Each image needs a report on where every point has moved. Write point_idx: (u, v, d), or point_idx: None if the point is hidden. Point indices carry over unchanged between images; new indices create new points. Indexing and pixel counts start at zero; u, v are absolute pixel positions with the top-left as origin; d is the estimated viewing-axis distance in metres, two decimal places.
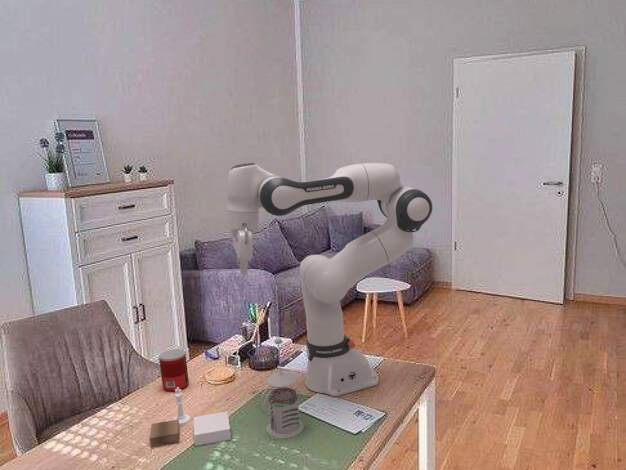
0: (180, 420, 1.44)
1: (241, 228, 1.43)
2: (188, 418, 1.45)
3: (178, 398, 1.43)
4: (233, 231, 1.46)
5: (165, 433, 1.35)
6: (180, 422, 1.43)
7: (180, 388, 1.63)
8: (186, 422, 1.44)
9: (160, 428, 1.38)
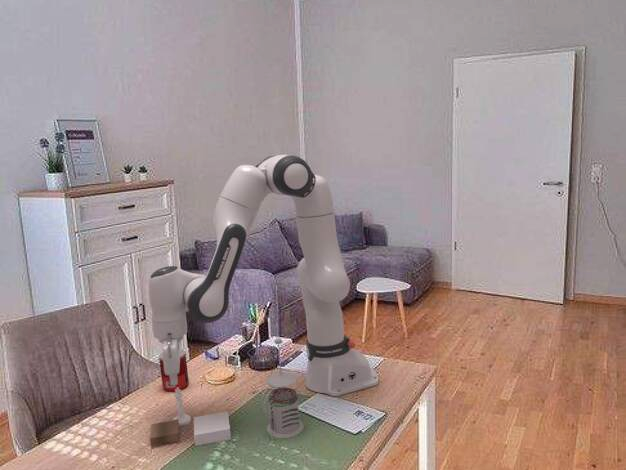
0: (180, 420, 1.44)
1: (166, 338, 1.36)
2: (188, 418, 1.45)
3: (178, 398, 1.43)
4: (160, 340, 1.38)
5: (166, 433, 1.35)
6: (180, 422, 1.43)
7: (180, 388, 1.63)
8: (186, 422, 1.44)
9: (160, 428, 1.37)
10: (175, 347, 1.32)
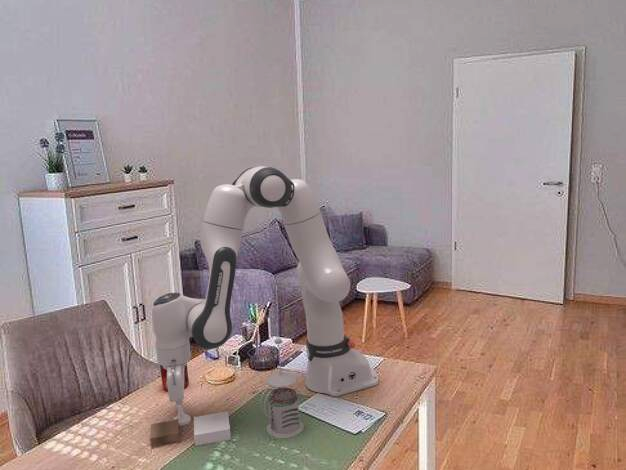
0: (180, 420, 1.44)
1: (170, 365, 1.37)
2: (188, 418, 1.45)
3: None
4: (164, 366, 1.40)
5: (166, 433, 1.35)
6: (180, 422, 1.43)
7: None
8: (186, 422, 1.44)
9: (160, 428, 1.37)
10: (179, 374, 1.34)
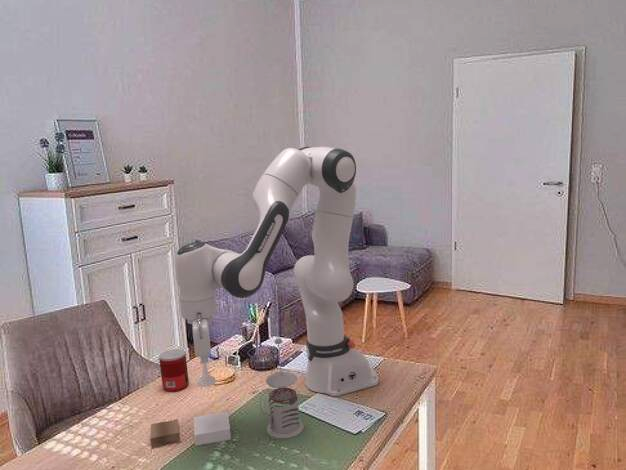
0: (205, 380, 1.34)
1: (196, 318, 1.28)
2: (213, 379, 1.35)
3: None
4: (188, 320, 1.30)
5: (166, 433, 1.35)
6: (205, 383, 1.34)
7: (180, 388, 1.63)
8: (211, 383, 1.34)
9: (160, 428, 1.37)
10: (206, 327, 1.24)
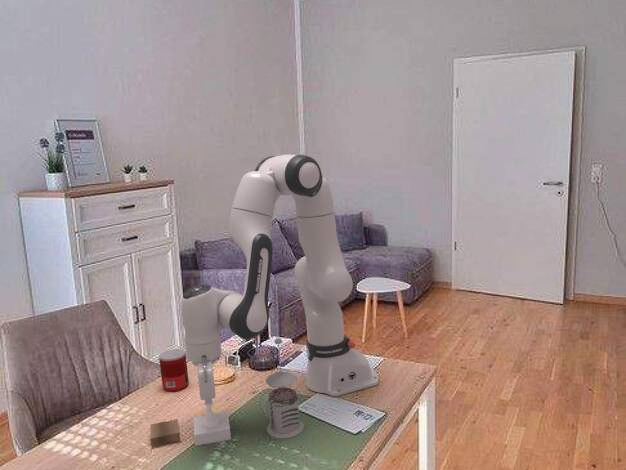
0: (209, 421, 1.36)
1: (201, 361, 1.30)
2: (217, 419, 1.37)
3: None
4: (193, 362, 1.32)
5: (166, 433, 1.35)
6: (210, 424, 1.36)
7: (180, 388, 1.63)
8: (216, 424, 1.36)
9: (160, 428, 1.37)
10: (211, 371, 1.26)
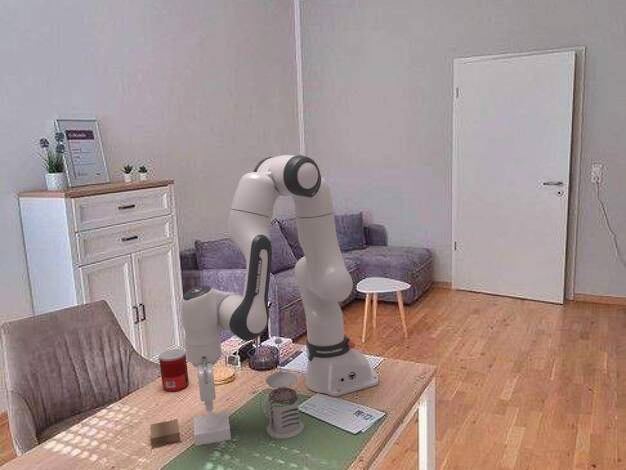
0: (209, 421, 1.36)
1: (201, 362, 1.30)
2: (217, 419, 1.37)
3: None
4: (193, 364, 1.32)
5: (166, 433, 1.35)
6: (210, 424, 1.36)
7: (180, 388, 1.63)
8: (216, 424, 1.36)
9: (160, 428, 1.37)
10: (211, 372, 1.26)
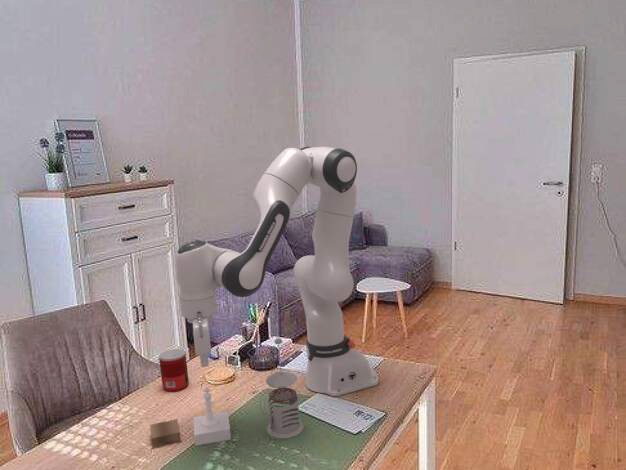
0: (209, 421, 1.36)
1: (196, 317, 1.28)
2: (217, 419, 1.37)
3: (207, 399, 1.36)
4: (189, 319, 1.30)
5: (167, 433, 1.35)
6: (210, 424, 1.36)
7: (180, 388, 1.63)
8: (216, 424, 1.36)
9: (160, 428, 1.37)
10: (206, 326, 1.24)
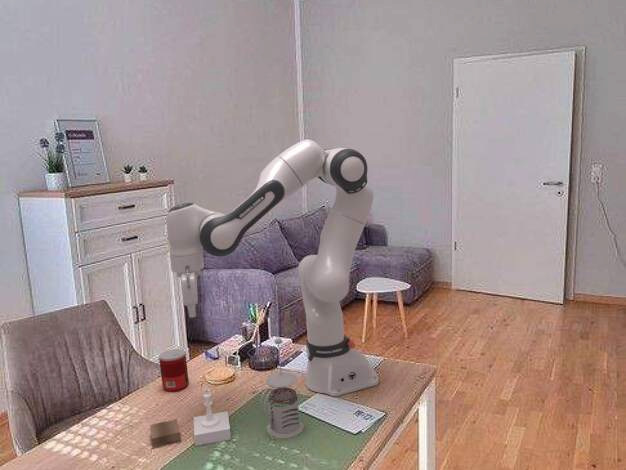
0: (209, 421, 1.36)
1: (184, 271, 1.40)
2: (217, 419, 1.37)
3: (207, 399, 1.36)
4: (178, 274, 1.42)
5: (167, 433, 1.35)
6: (210, 424, 1.36)
7: (180, 388, 1.63)
8: (216, 424, 1.36)
9: (160, 428, 1.37)
10: (193, 278, 1.36)
